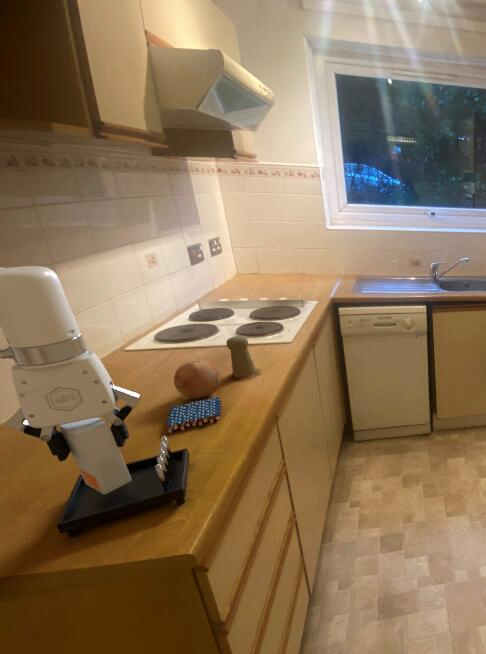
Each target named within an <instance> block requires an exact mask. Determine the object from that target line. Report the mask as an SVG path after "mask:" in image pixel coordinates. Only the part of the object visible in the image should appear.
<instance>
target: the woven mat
mask: <svg viewBox="0 0 486 654" xmlns="http://www.w3.org/2000/svg"><path fill="white" fill-rule="evenodd" d="M220 398H221V397H220V396H216V397H213V398H212V397H211V398H209V399H202V400H199V401H197V400H196V401H195V402H189V403H185V404H180V405H175V406H171V407H170V408H169V410H168V413H167V414H168V415H167V421H166V422H167V423H166V427H165V429H166V430H167V429H168V433H170V434H171V433H172V432H173V430H178V429H180V430H181V431H184V430H185V426H186V427H187V428H190V427H191V425H192V427H196V426H197V423H198V425H199V426H202V425H203V423H208V421H209V423H210V424H213V423H214V422H215V421H214V419H215V420H216V421H219V420H220V417H222V408H221V407H222V405H221V404H222V399H220Z"/></svg>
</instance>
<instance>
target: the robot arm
mask: <svg viewBox="0 0 486 654" xmlns="http://www.w3.org/2000/svg"><path fill="white" fill-rule="evenodd" d="M0 329H1V331H2V334H3V336H4V338H5V340H6V341H7V345H8V346H7V347H6V348H4V349H0V359H2V360H4V359H9V360H10V359H11V360H13V361H14V363H15V364H14V365H12V366H11V367H10V372H11V378H12V382H13V386H14V391H15V394H16V397H17V399H18V403H19V405H20V408H18V410H17V411H15V413H14V414H12V416H10V418H9V419H7V421H6V422H5V427H7V428H9V429H11V430H16V431H18V432H23V434H25V435H27V436H31V437H34V438H38V439H39V440H40V441H42V442H45V443H46V444H47V447H48V448H49V451H50V453H51V455H52V456H56V457H57V459H58V461H59V462H65V461H66V460H68V457H69V455H70V453H71V451H70V449H69V447H68V445H67V442H66V440H65V438H64V436H63V434H62V432H61V430H58V427H59V426H60V425H63V424H68V423H72V422H77V421H82V420H87V419H92V418H96V417H98V418H101V417H103V418H104V419H105V420H107V421H108V423H110V424H111V425H110V429H111V432H112V434H113V437H114V439H115V441H116V444H117V446H118V448H123V447H125V444H126V441H127V440H128V439H130V433H129V430H128V427H127V425H126V423H125V420H126V418H128V416H129V415H130V414H131V412H132V411H133V409H134V408H135V407H136V406H137V404H138V403H140V400H141V397H142V396H141V395H140V394H139V393H137V392H134V391H131V390H128V389H125V388H123V387H120V386H117V385H115V384H114V381H113V380H112V378H111V376H110V374H109V372H108V370H107V369H106V367H105V365H104V364H103V362H102V361H101V359H100V358H99V357H98V355H97V354H96V352H95V351H94V350H93V349H88V348H87V346H86V343H85V340H84V338H83V335H82V333H81V330H80V328H79V325H78V323H77V320H76V317H75V316H74V313H73V311H72V308H71V306H70V303H69V301H68V299H67V295H66V293H65V291H64V288H63V286H62V283H61V281H60V279H59V277H58V275H57V273H56V272H55V271H54V270H52V269H51V268H49V267H46V266H40V265H27V266H26V265H25V266H13V267H1V266H0ZM120 399H121V400H123V401H125V404H123V406H122V407H121V408H119V407H117V402H118V401H119V400H120Z"/></svg>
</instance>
